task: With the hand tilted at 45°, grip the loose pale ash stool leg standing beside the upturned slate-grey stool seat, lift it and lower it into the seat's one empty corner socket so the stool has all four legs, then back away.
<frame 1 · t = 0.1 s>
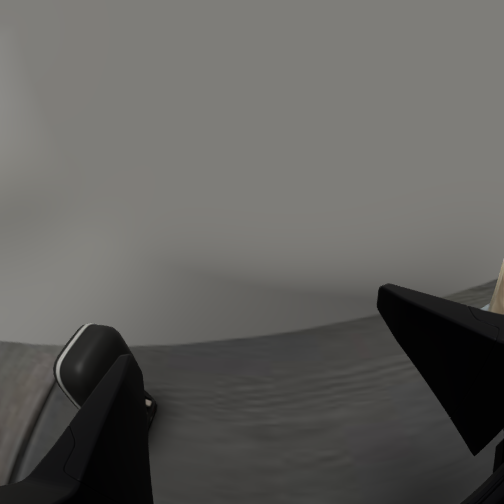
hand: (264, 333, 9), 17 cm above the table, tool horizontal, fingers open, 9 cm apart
loose leg: (471, 390, 18), on the table
battery charger: (141, 425, 22), on the table
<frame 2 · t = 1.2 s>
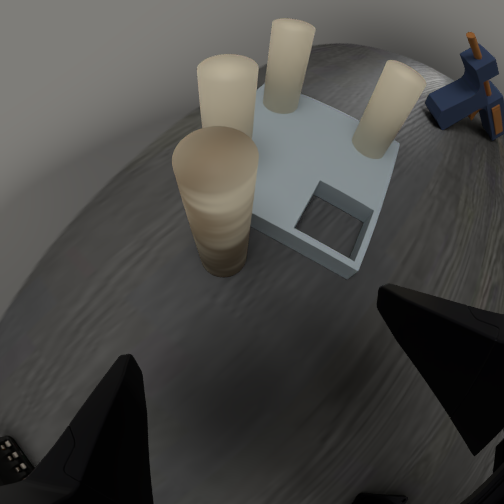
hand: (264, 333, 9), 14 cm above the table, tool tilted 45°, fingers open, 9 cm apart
loose leg: (223, 255, 24), on the table
stool seat: (300, 166, 28), on the table
glue gun: (463, 128, 36), on the table
battery charger: (24, 460, 15), on the table
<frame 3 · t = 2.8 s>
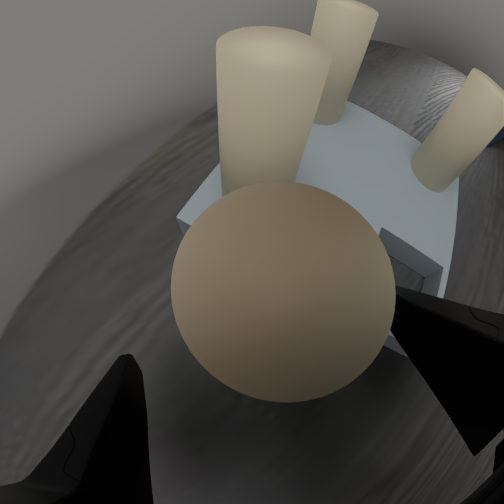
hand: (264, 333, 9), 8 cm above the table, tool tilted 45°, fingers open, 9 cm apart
loose leg: (250, 337, 17), on the table
stool seat: (348, 199, 21), on the table
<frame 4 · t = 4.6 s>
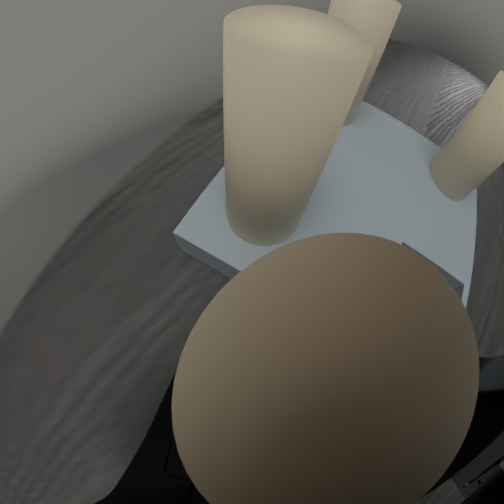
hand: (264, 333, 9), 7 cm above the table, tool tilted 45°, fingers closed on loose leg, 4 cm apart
loose leg: (258, 365, 15), on the table, touching gripper
stool seat: (363, 208, 19), on the table
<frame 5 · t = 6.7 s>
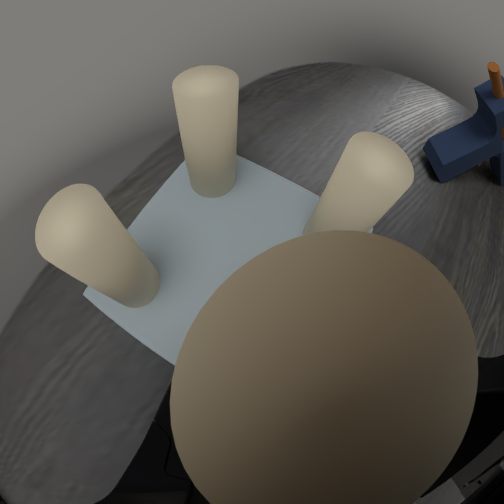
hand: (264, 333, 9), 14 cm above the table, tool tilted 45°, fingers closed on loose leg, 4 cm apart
loose leg: (258, 365, 15), point 7 cm above the table, touching gripper
stool seat: (232, 270, 24), on the table
glue gun: (468, 173, 32), on the table
when the fingers open (8 cm above the table, at t = 9.0 s): loose leg drops 1 cm, resting in stool seat.
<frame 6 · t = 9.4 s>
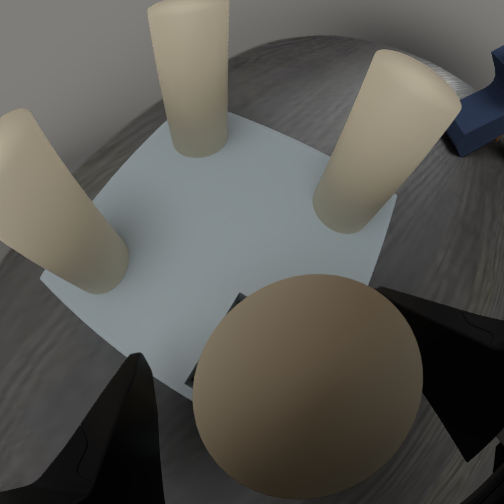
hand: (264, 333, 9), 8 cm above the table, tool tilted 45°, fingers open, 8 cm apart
loose leg: (256, 365, 16), resting in stool seat
stool seat: (224, 247, 19), on the table
glue gun: (484, 150, 27), on the table
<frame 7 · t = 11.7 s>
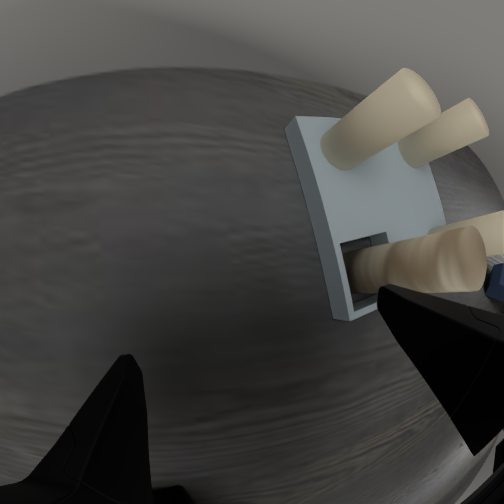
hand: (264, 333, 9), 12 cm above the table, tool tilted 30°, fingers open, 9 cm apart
loose leg: (354, 271, 25), resting in stool seat
stool seat: (379, 207, 27), on the table
glue gun: (498, 308, 36), on the table
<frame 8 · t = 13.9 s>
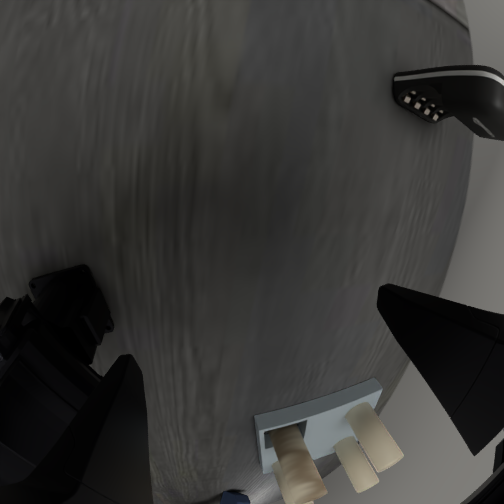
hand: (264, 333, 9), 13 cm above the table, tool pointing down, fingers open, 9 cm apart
loose leg: (279, 421, 33), resting in stool seat
stool seat: (312, 428, 37), on the table
glue gun: (207, 500, 45), on the table
battery charger: (413, 103, 20), on the table
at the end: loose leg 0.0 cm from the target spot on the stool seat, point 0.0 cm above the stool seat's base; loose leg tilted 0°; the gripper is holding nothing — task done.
